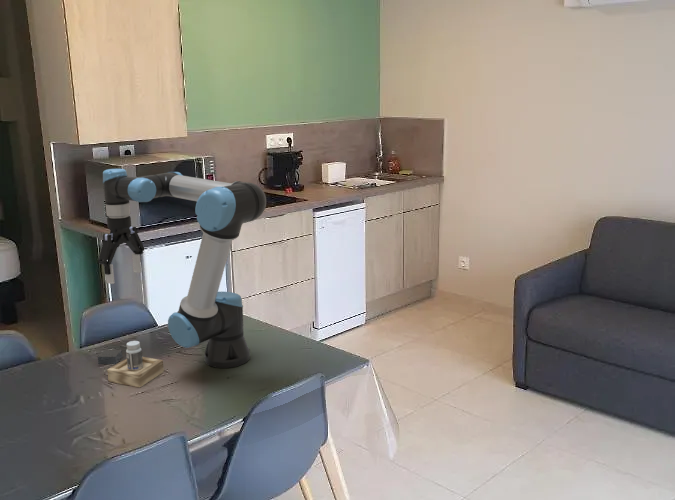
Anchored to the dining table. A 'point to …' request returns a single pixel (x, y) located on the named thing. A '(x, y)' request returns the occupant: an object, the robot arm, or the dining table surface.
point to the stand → (135, 372)
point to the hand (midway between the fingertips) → (124, 277)
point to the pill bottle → (134, 355)
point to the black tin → (110, 357)
